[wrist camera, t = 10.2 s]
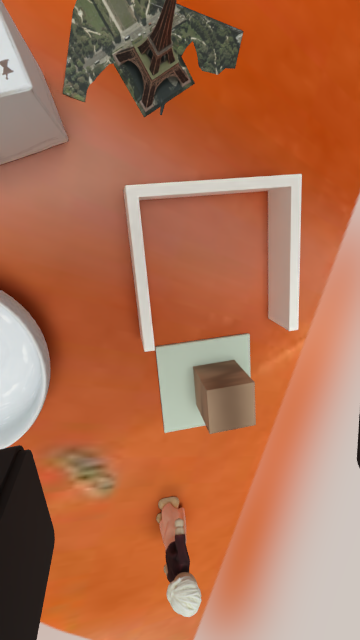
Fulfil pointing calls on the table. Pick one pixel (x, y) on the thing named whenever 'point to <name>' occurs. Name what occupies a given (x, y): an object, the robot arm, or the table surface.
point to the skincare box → (24, 99)
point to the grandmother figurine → (177, 559)
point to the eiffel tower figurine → (144, 47)
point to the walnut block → (224, 396)
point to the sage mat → (180, 377)
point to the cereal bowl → (20, 370)
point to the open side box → (280, 239)
